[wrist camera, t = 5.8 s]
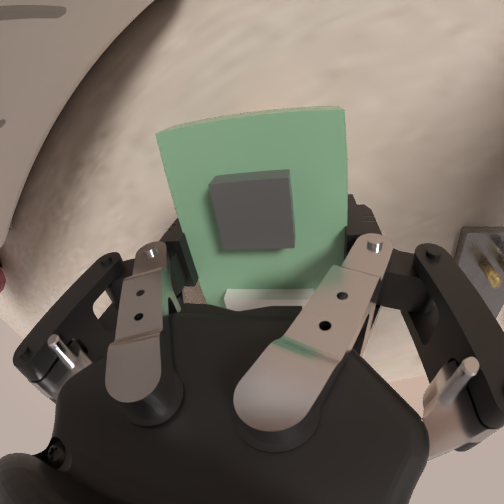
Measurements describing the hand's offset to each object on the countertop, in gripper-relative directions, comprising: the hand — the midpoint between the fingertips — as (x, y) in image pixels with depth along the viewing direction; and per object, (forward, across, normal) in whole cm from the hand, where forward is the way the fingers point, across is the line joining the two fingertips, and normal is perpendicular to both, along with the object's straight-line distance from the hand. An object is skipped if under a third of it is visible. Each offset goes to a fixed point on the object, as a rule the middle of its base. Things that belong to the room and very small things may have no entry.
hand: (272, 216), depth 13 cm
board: (-2, 0, 0) cm, 2 cm away
